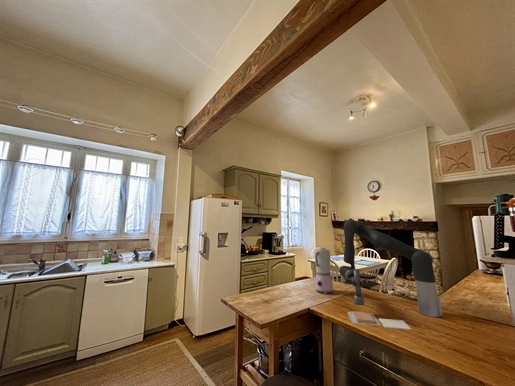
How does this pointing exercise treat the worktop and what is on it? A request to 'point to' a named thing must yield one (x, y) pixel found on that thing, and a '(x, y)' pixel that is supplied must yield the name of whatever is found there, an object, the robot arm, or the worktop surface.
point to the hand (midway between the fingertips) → (358, 284)
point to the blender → (323, 270)
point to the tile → (363, 317)
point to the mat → (362, 323)
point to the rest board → (394, 324)
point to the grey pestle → (358, 289)
